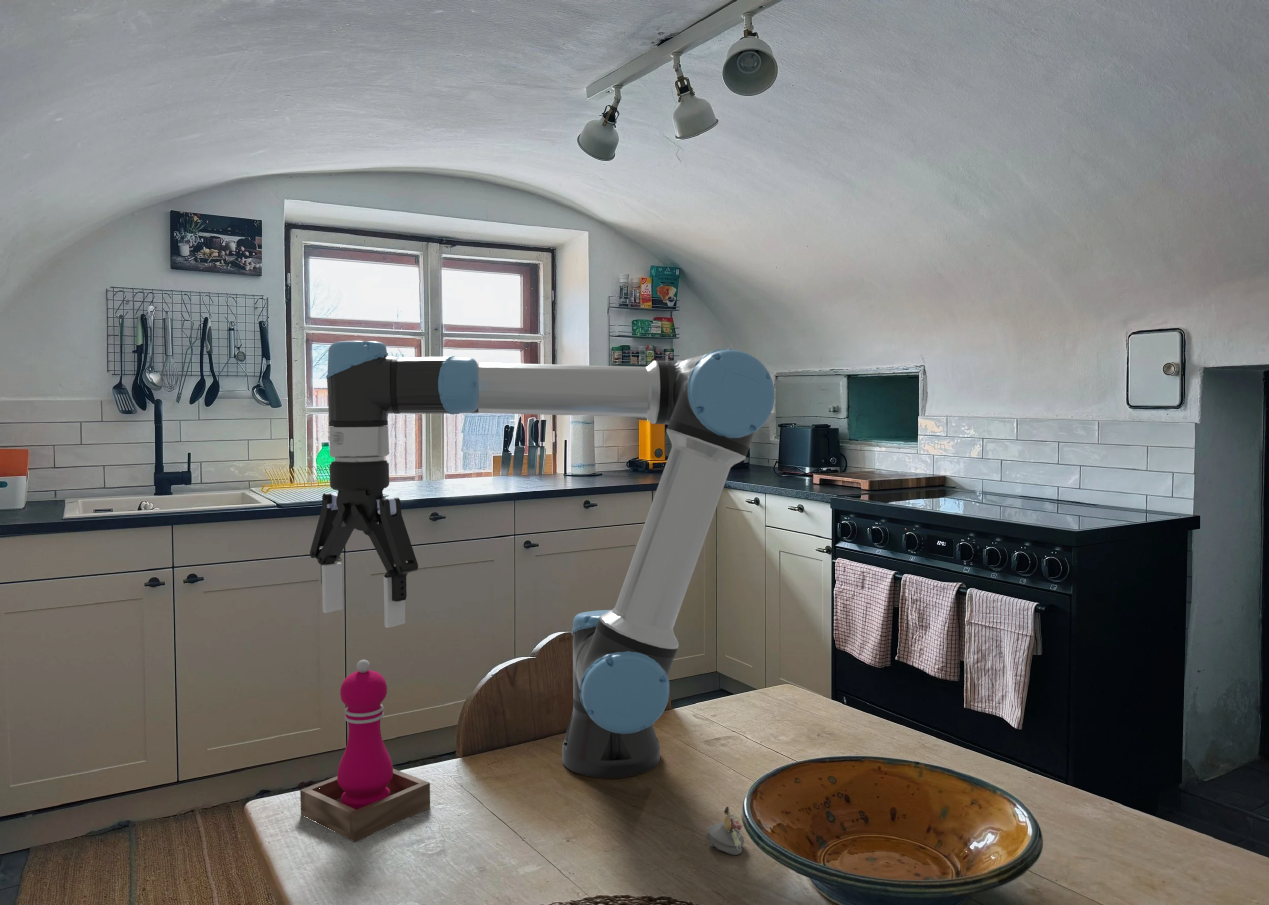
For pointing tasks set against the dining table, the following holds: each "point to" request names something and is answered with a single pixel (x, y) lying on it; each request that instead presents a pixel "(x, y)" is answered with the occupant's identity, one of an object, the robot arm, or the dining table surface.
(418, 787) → the holder tray
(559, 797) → the dining table surface
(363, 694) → the pepper mill
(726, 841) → the figurine
